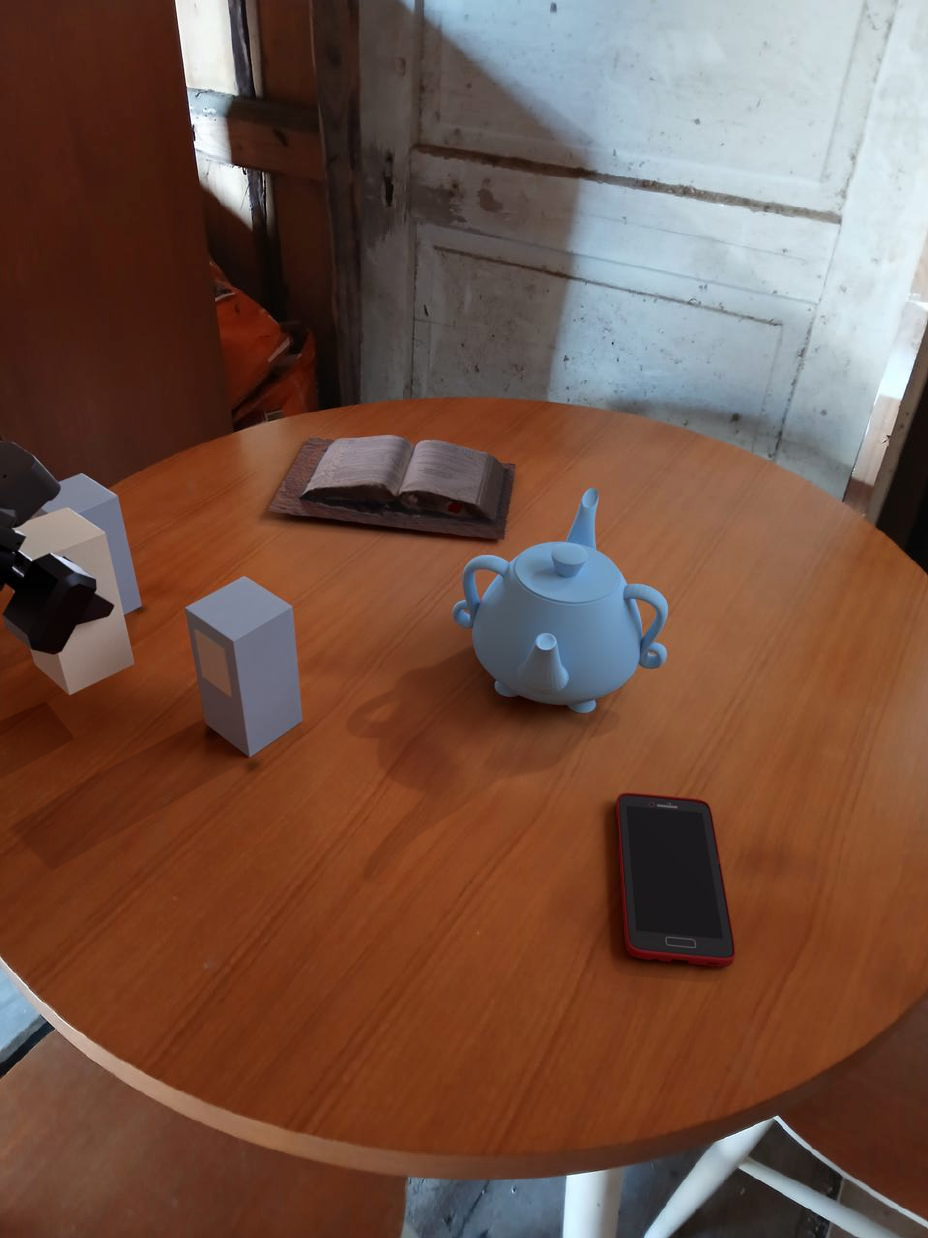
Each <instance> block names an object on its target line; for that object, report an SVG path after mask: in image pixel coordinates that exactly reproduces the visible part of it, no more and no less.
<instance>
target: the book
mask: <svg viewBox="0 0 928 1238" xmlns="http://www.w3.org/2000/svg"><path fill="white" fill-rule="evenodd" d="M516 466H517V464H516V463H512V462H506V463H505V462H500V461H499V460H498V459H497V458H496V457H495V456H494V455H492V454H490V453H489V452H486V451H482V450H481V451H480V450H477V449H474V448H470V447H467V446H462V445H459V444H455V443H451V442H448V441H443V440H439V439H422V440H420V441H419V442H418V443H417V444H416V445H414V443H412V442H410V441H409V440H408V439H407V438H405V437H401V436H397V435H393V434H387V435H386V434H385V435H384V434H383V435H373V436H364V437H349V438H347V437H340V438H337V439H331V438H325V439H324V438H320V437H318V438H316V437H311V436H309V437H307V439H306V441H305V443H304V445H303V446H302V449H301V450H300V451H299V453H298V455H297V457H296V459H295V460H294V462H293V464H292V466H291V467H290V470H289V471H288V472H287V475H286V476H285V478H284V480H283V481H282V483H281V486H280V487H279V489H278V490H277V491H276V494H275V496H274V497H275V498H273V499H272V501H271V502H270V504H269V506H268V509H267V511H268V512H273V513H279V514H290V515H293V516H305V517H315V518H321V519H333V520H338V521H344V522H353V523H362V524H367V525H375V526H386V527H390V528H399V529H407V530H409V529H410V530H416V531H421V532H433V533H442V534H453V535H457V536H462V537H470V538H473V537H478V538H479V537H480V538H482V539H489V540H490V539H495V540H502V541H505V535H506V528H507V527H506V526H507V524H508V523H507V522H508V516H509V513H510V510H509V509H510V504H511V500H512V499H511V498H512V492H513V488H514V480H515V474H516ZM451 504H461V505H463V506H462V508H461V509H460V510H459V512H458V513H455V512H453V511H452V512H451V511H449V506H450V505H451ZM467 509H468V510H467Z"/></svg>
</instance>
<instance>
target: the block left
mask: <svg viewBox="0 0 928 1238" xmlns="http://www.w3.org/2000/svg"><path fill="white" fill-rule="evenodd" d="M58 482H59V484H60V485H61V490H60V492H59V494H58V495H57V496H56V497H55V498H54V499H53V500H52V501H48V502H47V503H46V504H45V505H44V506H43V507H41V508H40V509H39V510H38V511H37V512H36V513H35V514H34V515H33V516H32V517H31V518H30V519H29V520H31V519H34V518H37V517H40V516H43V515H46V514H49V513H52V512H55V511H57V510H60V509H63V508H66V507H68V508H69V509H71V510H72V511H74V512H75V513H77V514H78V515H80V516H81V517H83V518H84V519H86V520H87V521H89V522H90V523H92V524H93V525H95V526H96V527H98V528H99V529H101V530H102V531H103V532H105V534H106V538H107V542H108V547H109V551H110V556H111V560H112V565H113V569H114V574H115V578H116V583H117V587H118V592H119V596H120V601H121V605H122V610H123V614H124V616H126V615H127V614H130V613H131V612H133V611H135V610H137V609H138V608H141V607H142V606H143V605H142V600H141V595H140V590H139V586H138V581H137V577H136V573H135V568H134V564H133V559H132V554H131V550H130V545H129V541H128V536H127V532H126V527H125V523H124V517H123V513H122V508H121V505H120V499H119V496H118V495H117V494H116V493H114V492H112V491H110V490H109V489H107V488H106V487H104V486H103V485H102V484H100V483H99V482H97V481H95V480H93V479H92V478H90V477H89V476H87V475H86V474H84V473H81V472H80V473H79V474H76V475H73V476H71V477H68V478H65V479H63V480H60V481H58Z"/></svg>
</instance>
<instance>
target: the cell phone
mask: <svg viewBox="0 0 928 1238" xmlns="http://www.w3.org/2000/svg"><path fill="white" fill-rule="evenodd" d="M615 816H616V817H615V818H616V819H615V820H616V822H617V825H618V826H617V827H618V839H619V841H618V842H619V844H618V857H619V858H618V860H619V874H620V875H619V876H620V889H621V901H622V902H621V903H622V918H623V919H622V920H623V933H624V943H625V948H626V952H627V953H628V954H629V955H630V956H631V957H633V958H637V959H641V960H646V961H647V960H648V961H652V960H658V961H659V962H667V963H670V962H671V960H675V961H687V964H688V965H689V964H690V965H701V966H708V967H709V966H710V967H721V968H723V967H729V966H732V965H733V963H734V961H735V959H736V955H737V954H736V943H735V937H734V931H733V926H732V920H731V913H730V909H729V903H728V897H727V896H728V895H727V891H726V886H725V879H724V873H723V869H722V862H721V858H720V851H719V845H718V839H717V834H716V828H715V827H716V826H715V822H714V817H713V812H712V808H711V806H710V805H709V803H708V801H705V800H703V799H699V798H693V797H682V796H671V795H662V794H661V795H660V794H651V793H641V792H639V793H638V792H622V793H620V794H618V796H617V798H616V802H615Z"/></svg>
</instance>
